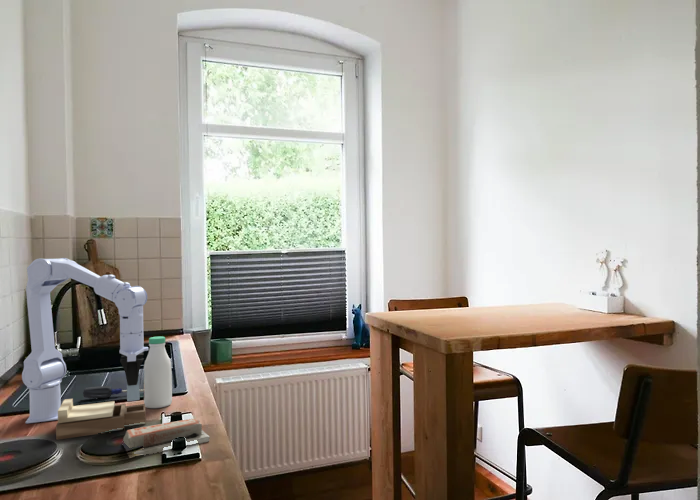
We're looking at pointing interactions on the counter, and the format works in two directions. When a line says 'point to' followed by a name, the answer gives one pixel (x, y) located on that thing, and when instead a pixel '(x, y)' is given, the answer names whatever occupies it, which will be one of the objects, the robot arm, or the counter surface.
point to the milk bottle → (157, 375)
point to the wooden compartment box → (102, 422)
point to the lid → (84, 411)
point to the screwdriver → (102, 392)
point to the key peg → (133, 392)
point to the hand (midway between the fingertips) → (132, 383)
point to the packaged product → (164, 435)
